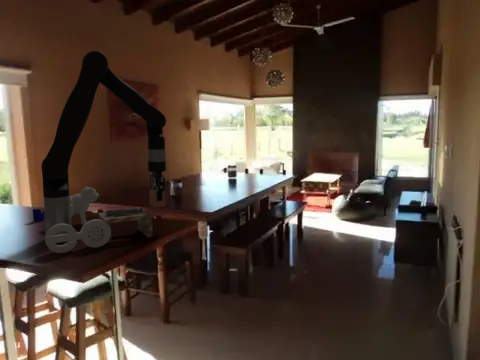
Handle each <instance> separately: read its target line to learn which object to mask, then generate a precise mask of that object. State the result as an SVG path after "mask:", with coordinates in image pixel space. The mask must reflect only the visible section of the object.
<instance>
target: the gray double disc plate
mask: <svg viewBox="0 0 480 360" xmlns="http://www.w3.org/2000/svg"><path fill="white" fill-rule="evenodd" d="M99 227H100V228H99ZM102 229H103V231H101V230H102ZM59 231H67V232H68V234H60V235H55V234H56V233H57V232H59ZM102 234H103V235H102ZM49 235H53V236H49ZM101 235H102V236H101ZM89 236H90V237H89ZM110 236H111V237H112V228H111V229H110V227H109V225H108V224H107V223H105V222H104V221H102V220H99V218H97V219H96V218H95V219H91V220H87V222H86V223H85V224H84V225H82V226H81V228H80V231H77V230H76V229H75V228H74V227H73V225H72V226H70V225H68V224H64V223H61V224H56V225H54V226H52V227H51V228H50V229H49V230H48V231H47V233H46V232H45V236H44V242H45V245H46V247H47V248H48V249H49V250H50V251H51V252H54V253H56V254H63V253H68V252H70V251H71V250H73V249H74V248H75V246H76V245H77V244H78V240H80V241H82V243H83V244H84V245H86V246H87V247H90V248H100V247H102V246H104V245H106V244H108V243H107V242H108V240H109V238H110ZM64 242H66V243H64ZM57 243H64V244H61V245H60V244H59V245H58V244H57Z"/></svg>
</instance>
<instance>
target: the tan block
mask: <svg viewBox="0 0 480 360" xmlns="http://www.w3.org/2000/svg"><path fill="white" fill-rule="evenodd" d="M149 206H152V207H153V208H159V207H166V190H164V191H163V192H162V201H157V190H156V189H153V190H152V189H149Z"/></svg>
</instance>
